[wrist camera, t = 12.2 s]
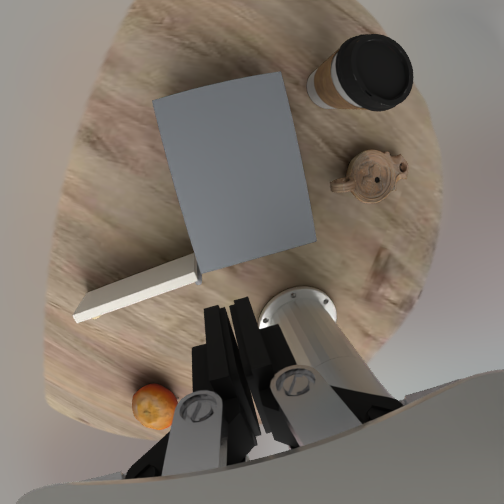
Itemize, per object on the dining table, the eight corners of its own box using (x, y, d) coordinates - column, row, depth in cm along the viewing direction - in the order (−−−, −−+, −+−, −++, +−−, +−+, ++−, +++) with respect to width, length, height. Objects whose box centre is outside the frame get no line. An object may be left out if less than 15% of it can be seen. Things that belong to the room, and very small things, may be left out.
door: (197, 251, 42) (197, 270, 36) (202, 266, 43) (204, 287, 37) (86, 292, 42) (72, 315, 35) (93, 305, 42) (80, 329, 36)
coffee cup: (285, 91, 38) (330, 67, 24) (319, 48, 36) (373, 13, 22) (333, 130, 40) (395, 127, 26) (364, 87, 39) (430, 71, 25)
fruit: (168, 424, 51) (147, 442, 43) (140, 391, 52) (117, 405, 44) (197, 403, 50) (179, 422, 42) (168, 368, 51) (145, 381, 43)
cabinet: (299, 226, 44) (316, 241, 37) (200, 253, 43) (201, 274, 36) (267, 82, 37) (280, 71, 30) (159, 108, 36) (152, 100, 29)
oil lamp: (395, 143, 42) (415, 145, 38) (400, 191, 45) (420, 197, 40) (317, 156, 41) (331, 158, 37) (325, 208, 44) (340, 216, 39)
